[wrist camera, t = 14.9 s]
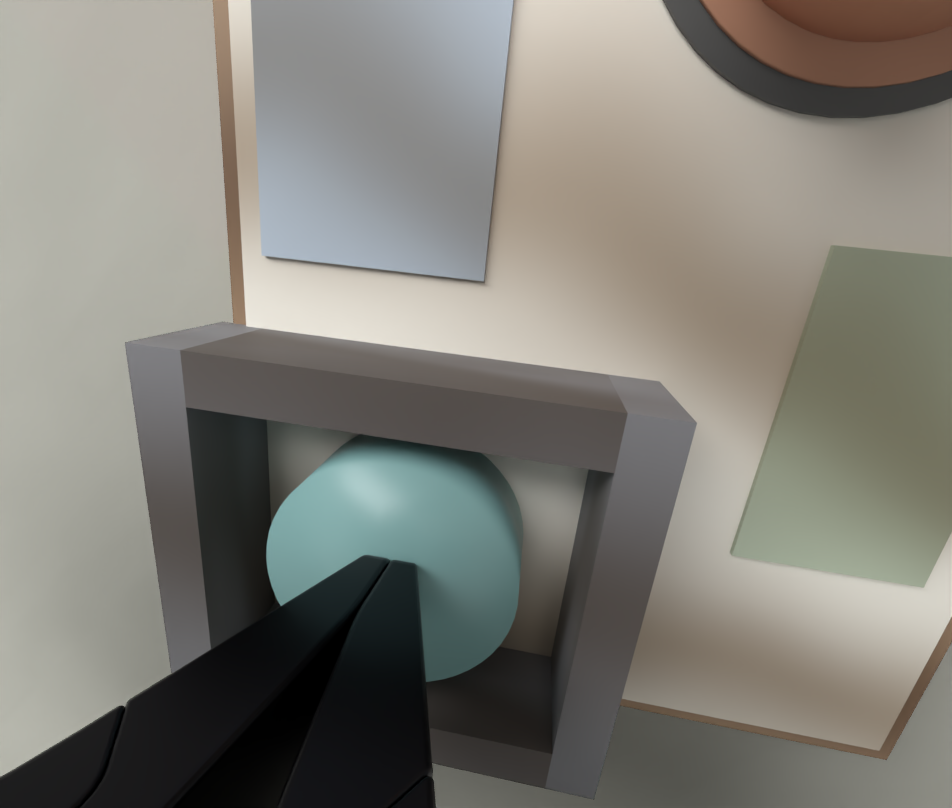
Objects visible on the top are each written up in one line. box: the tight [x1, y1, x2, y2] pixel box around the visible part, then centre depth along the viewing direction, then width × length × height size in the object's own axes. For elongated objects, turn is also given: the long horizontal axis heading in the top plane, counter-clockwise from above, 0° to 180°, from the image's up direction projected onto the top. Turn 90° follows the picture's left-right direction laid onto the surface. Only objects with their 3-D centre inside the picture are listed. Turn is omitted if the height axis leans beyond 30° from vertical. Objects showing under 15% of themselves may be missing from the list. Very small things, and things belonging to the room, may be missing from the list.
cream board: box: [125, 0, 952, 799], centre depth 6 cm, size 17×13×3 cm
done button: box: [266, 434, 523, 682], centre depth 8 cm, size 4×4×2 cm
